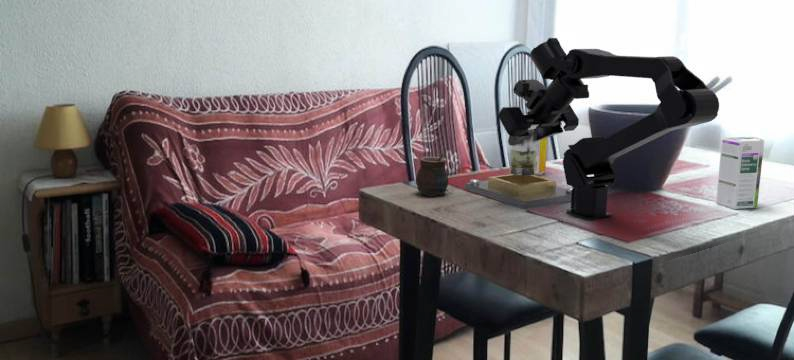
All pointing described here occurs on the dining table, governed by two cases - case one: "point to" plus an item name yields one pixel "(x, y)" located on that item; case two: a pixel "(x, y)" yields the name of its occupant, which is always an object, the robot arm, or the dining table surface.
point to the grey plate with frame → (521, 190)
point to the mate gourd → (432, 176)
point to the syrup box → (739, 172)
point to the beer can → (540, 156)
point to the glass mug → (524, 155)
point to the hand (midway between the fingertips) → (519, 142)
